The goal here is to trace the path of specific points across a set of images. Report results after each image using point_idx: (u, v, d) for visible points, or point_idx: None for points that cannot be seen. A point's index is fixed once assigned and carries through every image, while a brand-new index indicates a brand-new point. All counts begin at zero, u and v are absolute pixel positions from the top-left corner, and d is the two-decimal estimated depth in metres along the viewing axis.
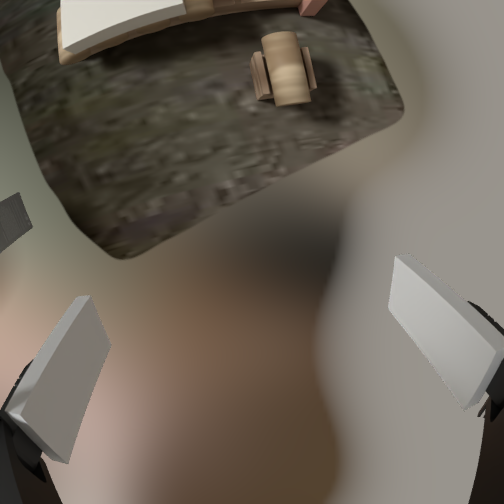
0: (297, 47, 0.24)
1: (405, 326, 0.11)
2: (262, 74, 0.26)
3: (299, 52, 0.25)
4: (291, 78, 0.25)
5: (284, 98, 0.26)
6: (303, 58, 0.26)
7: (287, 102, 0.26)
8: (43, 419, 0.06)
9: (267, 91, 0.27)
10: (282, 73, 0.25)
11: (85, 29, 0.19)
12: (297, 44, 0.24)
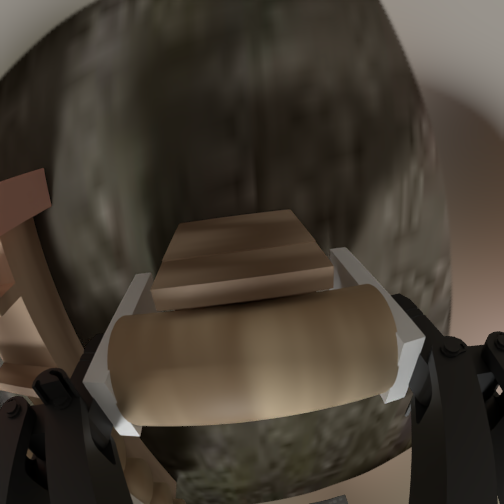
0: (169, 367, 0.07)
1: None
2: None
3: (190, 357, 0.07)
4: (310, 402, 0.07)
5: (367, 397, 0.08)
6: None
7: (383, 392, 0.08)
8: None
9: None
10: (286, 415, 0.08)
11: None
12: (154, 360, 0.07)
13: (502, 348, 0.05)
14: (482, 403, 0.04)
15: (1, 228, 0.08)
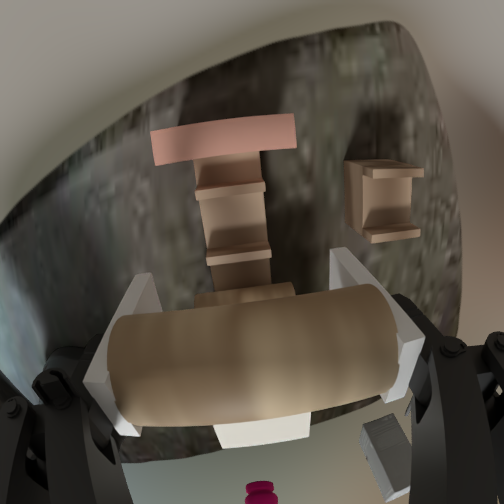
0: (169, 367, 0.07)
1: None
2: (399, 235, 0.22)
3: (189, 357, 0.07)
4: (311, 402, 0.07)
5: (368, 397, 0.08)
6: None
7: (383, 392, 0.08)
8: None
9: (418, 231, 0.22)
10: (286, 415, 0.08)
11: (299, 425, 0.24)
12: (154, 360, 0.07)
13: (502, 348, 0.05)
14: (482, 403, 0.04)
15: None
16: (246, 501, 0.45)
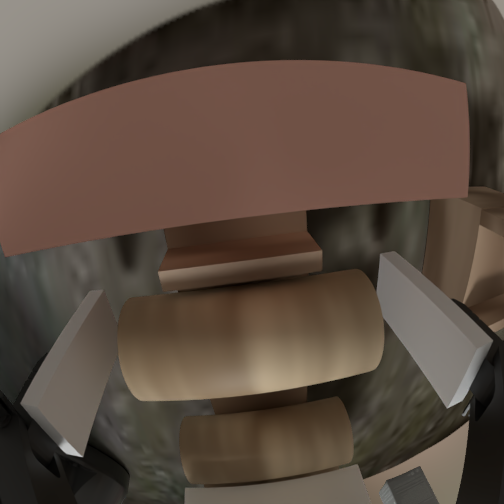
0: (174, 340, 0.08)
1: (390, 323, 0.11)
2: None
3: (193, 331, 0.08)
4: (302, 375, 0.08)
5: (356, 374, 0.09)
6: None
7: (371, 369, 0.09)
8: (59, 411, 0.06)
9: None
10: (281, 389, 0.09)
11: None
12: (161, 334, 0.08)
13: None
14: None
15: None
16: None
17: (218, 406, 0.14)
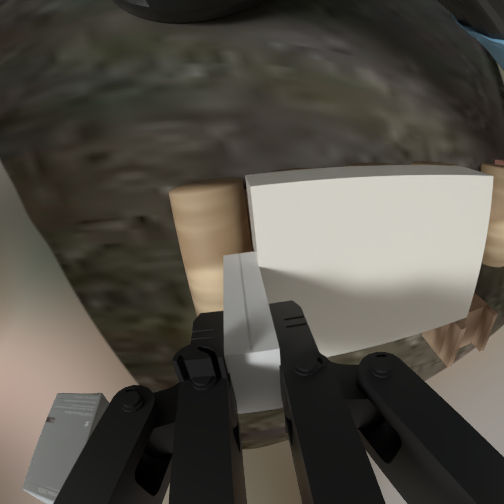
0: None
1: None
2: (455, 350, 0.22)
3: None
4: None
5: (495, 260, 0.17)
6: (488, 324, 0.22)
7: (496, 265, 0.18)
8: None
9: (451, 364, 0.23)
10: None
11: (325, 343, 0.14)
12: None
13: (381, 374, 0.06)
14: (351, 423, 0.05)
15: None
16: None
17: None
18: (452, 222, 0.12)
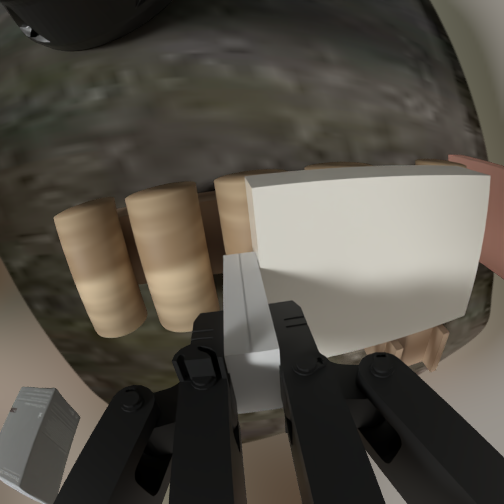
0: None
1: None
2: None
3: None
4: None
5: None
6: (438, 343, 0.22)
7: None
8: None
9: None
10: None
11: (325, 343, 0.14)
12: None
13: (380, 374, 0.06)
14: (352, 423, 0.05)
15: None
16: None
17: None
18: (450, 222, 0.12)
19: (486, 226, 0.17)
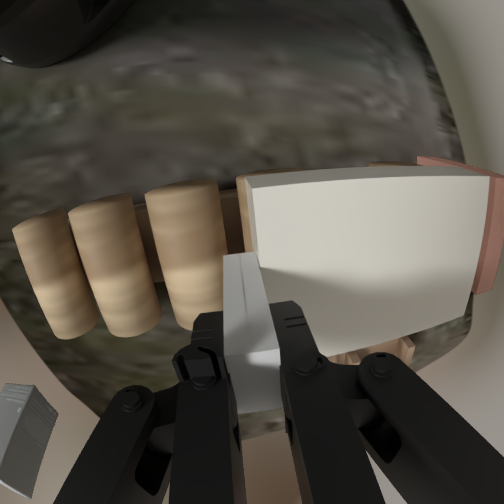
0: None
1: None
2: None
3: None
4: None
5: None
6: (404, 356, 0.22)
7: None
8: None
9: None
10: None
11: (325, 343, 0.14)
12: None
13: (381, 374, 0.06)
14: (352, 423, 0.05)
15: None
16: None
17: None
18: (449, 222, 0.12)
19: None
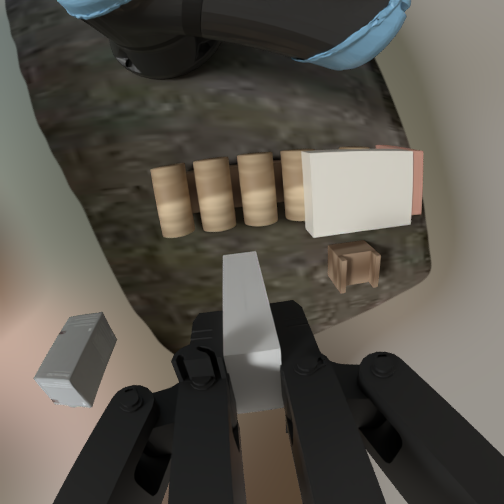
0: None
1: None
2: (343, 279, 0.38)
3: None
4: None
5: None
6: (374, 263, 0.38)
7: None
8: None
9: (344, 291, 0.39)
10: None
11: (338, 225, 0.31)
12: None
13: (382, 374, 0.06)
14: (352, 423, 0.05)
15: None
16: None
17: None
18: (391, 171, 0.29)
19: None
